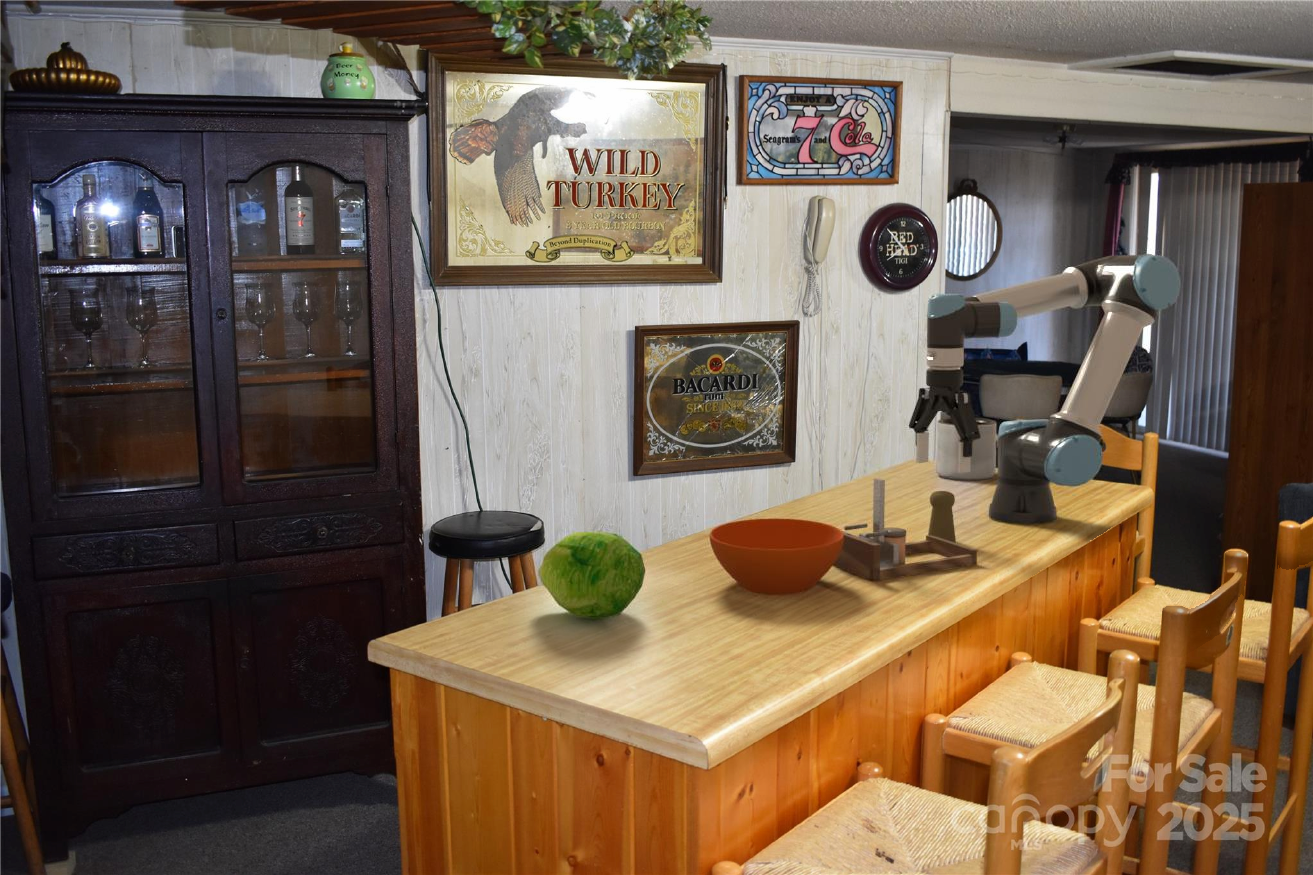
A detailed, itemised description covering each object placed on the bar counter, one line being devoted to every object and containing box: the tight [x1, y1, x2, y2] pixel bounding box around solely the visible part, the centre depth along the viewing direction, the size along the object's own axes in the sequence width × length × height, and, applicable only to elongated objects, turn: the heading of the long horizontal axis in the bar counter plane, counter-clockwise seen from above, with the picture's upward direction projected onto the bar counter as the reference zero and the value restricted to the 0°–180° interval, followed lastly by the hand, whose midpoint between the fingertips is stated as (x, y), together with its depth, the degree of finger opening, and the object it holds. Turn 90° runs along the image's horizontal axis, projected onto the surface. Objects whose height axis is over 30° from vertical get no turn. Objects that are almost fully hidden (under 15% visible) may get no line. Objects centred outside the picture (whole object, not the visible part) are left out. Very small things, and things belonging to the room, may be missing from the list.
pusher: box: [858, 477, 899, 568], centre depth 225 cm, size 1×11×18 cm, turn 25°
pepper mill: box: [927, 490, 957, 543], centre depth 246 cm, size 6×6×11 cm
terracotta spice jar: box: [884, 526, 907, 565], centre depth 228 cm, size 5×5×7 cm
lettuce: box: [537, 531, 646, 620], centre depth 199 cm, size 17×20×15 cm
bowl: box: [709, 518, 844, 596], centre depth 216 cm, size 25×25×10 cm
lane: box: [833, 523, 978, 582], centre depth 229 cm, size 25×14×8 cm, turn 115°
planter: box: [935, 417, 997, 481], centre depth 319 cm, size 16×16×16 cm
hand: (942, 467), depth 244 cm, fingers open, 13 cm apart
